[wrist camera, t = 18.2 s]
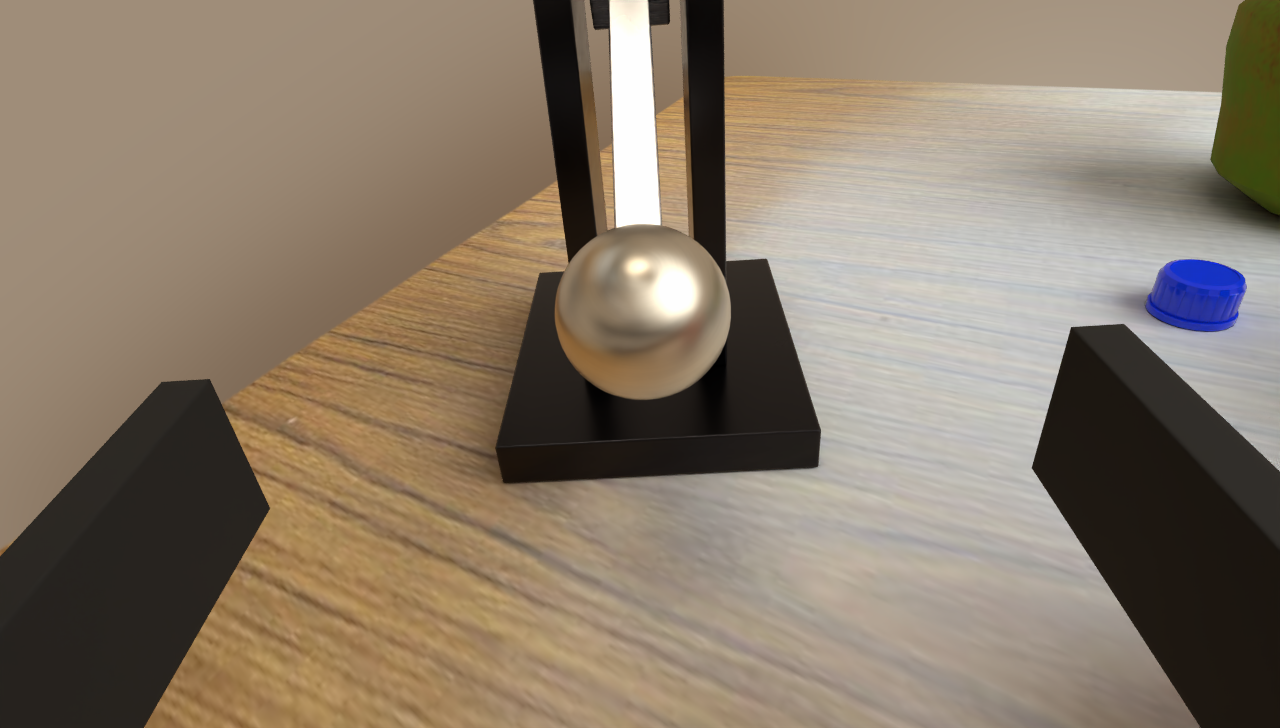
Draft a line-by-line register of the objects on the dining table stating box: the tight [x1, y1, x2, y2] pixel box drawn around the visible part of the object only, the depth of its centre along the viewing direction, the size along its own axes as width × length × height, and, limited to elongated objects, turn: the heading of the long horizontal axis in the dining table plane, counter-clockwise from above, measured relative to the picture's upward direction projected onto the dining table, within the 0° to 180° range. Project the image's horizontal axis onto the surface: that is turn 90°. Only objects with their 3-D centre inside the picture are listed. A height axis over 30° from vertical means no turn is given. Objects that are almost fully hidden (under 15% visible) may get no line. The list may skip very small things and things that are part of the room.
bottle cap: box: [1145, 259, 1247, 331], centre depth 29 cm, size 3×3×2 cm
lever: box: [555, 0, 731, 400], centre depth 19 cm, size 14×4×4 cm
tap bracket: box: [495, 0, 821, 483], centre depth 25 cm, size 12×10×16 cm
